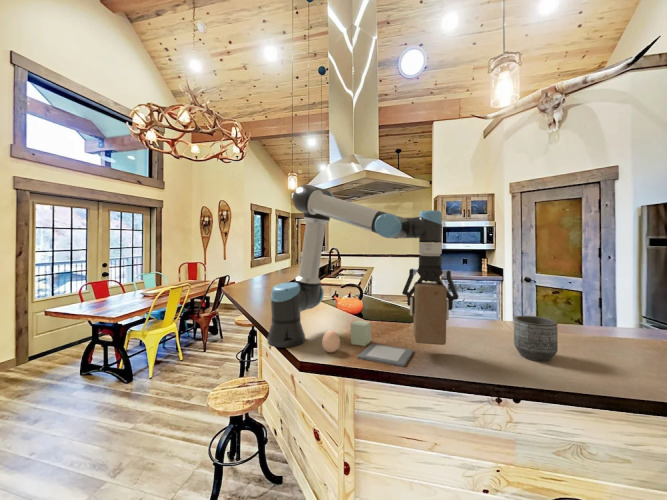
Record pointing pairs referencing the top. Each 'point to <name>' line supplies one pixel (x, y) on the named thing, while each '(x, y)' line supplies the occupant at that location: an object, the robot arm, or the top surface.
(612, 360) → the top surface
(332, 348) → the egg
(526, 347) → the planter
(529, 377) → the top surface
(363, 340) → the sage block
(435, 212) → the robot arm
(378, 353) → the slate mat
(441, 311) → the wooden block
